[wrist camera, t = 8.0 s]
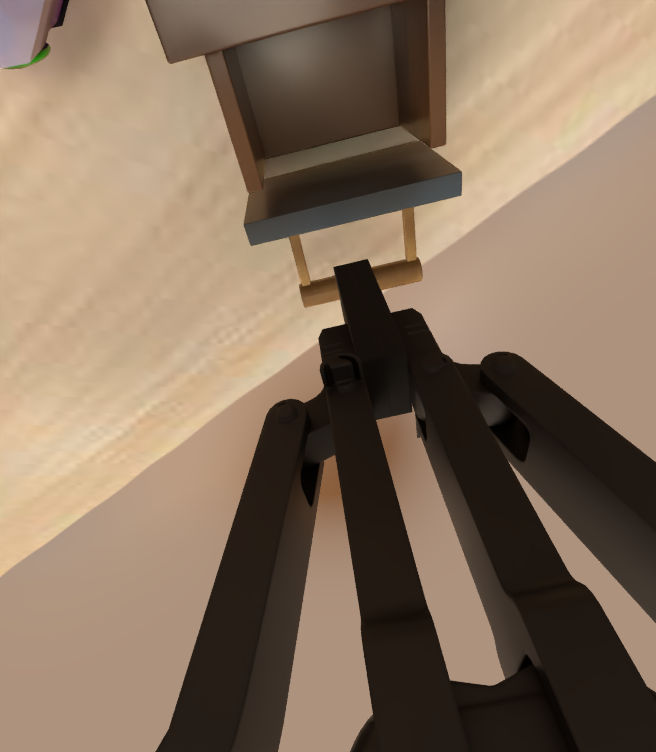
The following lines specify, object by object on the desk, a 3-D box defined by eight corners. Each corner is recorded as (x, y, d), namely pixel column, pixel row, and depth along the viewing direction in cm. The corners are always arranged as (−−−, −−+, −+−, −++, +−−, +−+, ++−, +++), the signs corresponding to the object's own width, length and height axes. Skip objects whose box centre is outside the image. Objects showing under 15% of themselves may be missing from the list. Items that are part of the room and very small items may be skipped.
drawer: (424, 245, 31) (460, 295, 25) (280, 279, 31) (281, 335, 26) (406, -164, 18) (469, -260, 12) (165, -94, 19) (114, -152, 13)
